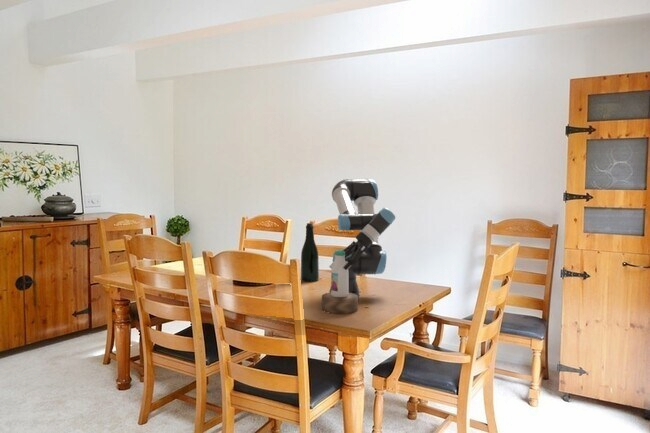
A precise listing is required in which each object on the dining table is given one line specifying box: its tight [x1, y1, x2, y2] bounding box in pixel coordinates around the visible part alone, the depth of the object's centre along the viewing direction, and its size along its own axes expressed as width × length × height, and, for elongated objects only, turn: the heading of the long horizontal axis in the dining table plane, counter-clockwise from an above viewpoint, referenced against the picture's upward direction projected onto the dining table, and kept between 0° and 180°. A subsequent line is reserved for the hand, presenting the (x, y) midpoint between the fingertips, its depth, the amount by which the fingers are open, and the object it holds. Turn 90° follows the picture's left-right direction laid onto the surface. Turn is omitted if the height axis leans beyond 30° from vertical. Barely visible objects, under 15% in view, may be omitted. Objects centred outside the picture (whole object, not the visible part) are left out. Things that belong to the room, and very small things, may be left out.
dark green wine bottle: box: [300, 222, 320, 282], centre depth 285 cm, size 10×10×33 cm
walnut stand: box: [321, 292, 359, 315], centre depth 222 cm, size 16×16×6 cm
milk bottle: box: [330, 250, 349, 297], centre depth 221 cm, size 8×8×20 cm
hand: (334, 271), depth 220 cm, fingers open, 13 cm apart
